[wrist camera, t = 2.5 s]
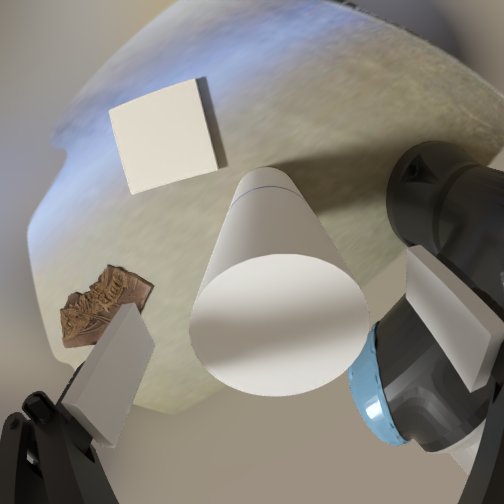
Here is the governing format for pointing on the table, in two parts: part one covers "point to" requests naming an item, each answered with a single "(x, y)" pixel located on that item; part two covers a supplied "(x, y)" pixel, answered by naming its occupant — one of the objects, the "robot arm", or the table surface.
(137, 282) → the brown relief tablet
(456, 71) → the table surface
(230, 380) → the cylindrical container
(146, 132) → the ceramic tile
